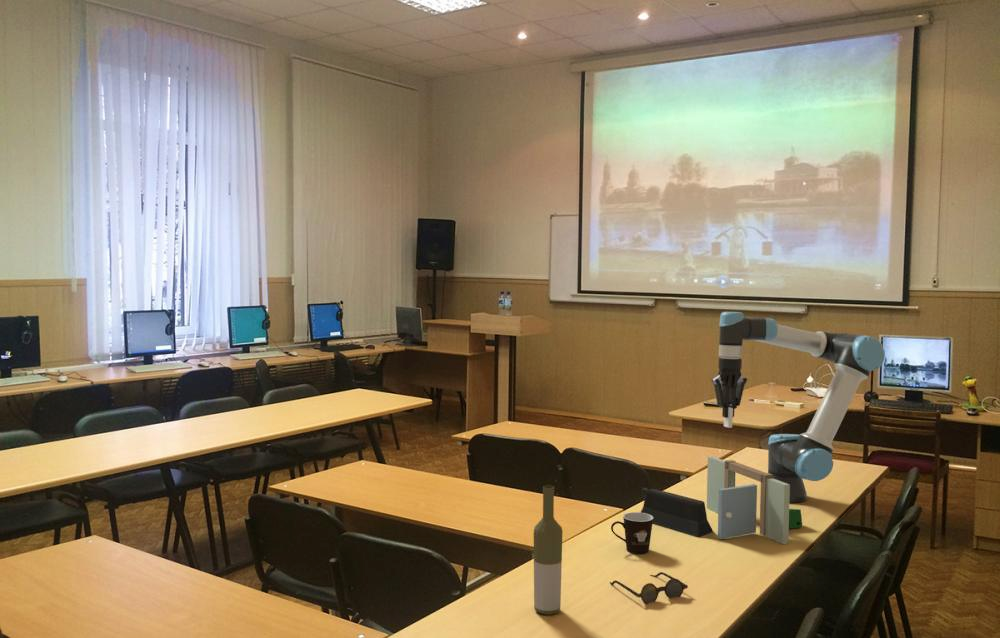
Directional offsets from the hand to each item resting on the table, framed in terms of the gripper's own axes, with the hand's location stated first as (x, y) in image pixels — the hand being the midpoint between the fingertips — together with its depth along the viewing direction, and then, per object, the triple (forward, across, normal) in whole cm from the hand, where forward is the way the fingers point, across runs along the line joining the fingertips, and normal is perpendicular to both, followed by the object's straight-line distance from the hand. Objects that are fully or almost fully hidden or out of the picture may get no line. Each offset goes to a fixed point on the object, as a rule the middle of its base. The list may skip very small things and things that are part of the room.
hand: (727, 426), depth 256 cm
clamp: (+30, -8, +18) cm, 36 cm away
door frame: (+29, +2, +14) cm, 33 cm away
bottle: (+31, +88, +50) cm, 106 cm away
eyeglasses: (+31, +59, +47) cm, 81 cm away
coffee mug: (+30, +48, +21) cm, 60 cm away
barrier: (+30, +24, +6) cm, 39 cm away
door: (+29, +12, +23) cm, 39 cm away
